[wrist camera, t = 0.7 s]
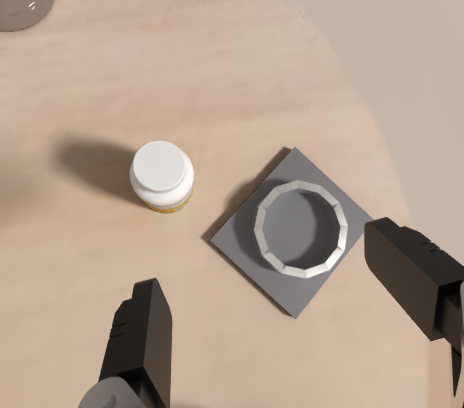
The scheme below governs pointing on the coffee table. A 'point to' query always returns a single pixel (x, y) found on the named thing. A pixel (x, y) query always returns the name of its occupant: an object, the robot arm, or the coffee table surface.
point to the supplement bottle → (162, 176)
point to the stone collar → (333, 215)
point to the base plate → (289, 233)
